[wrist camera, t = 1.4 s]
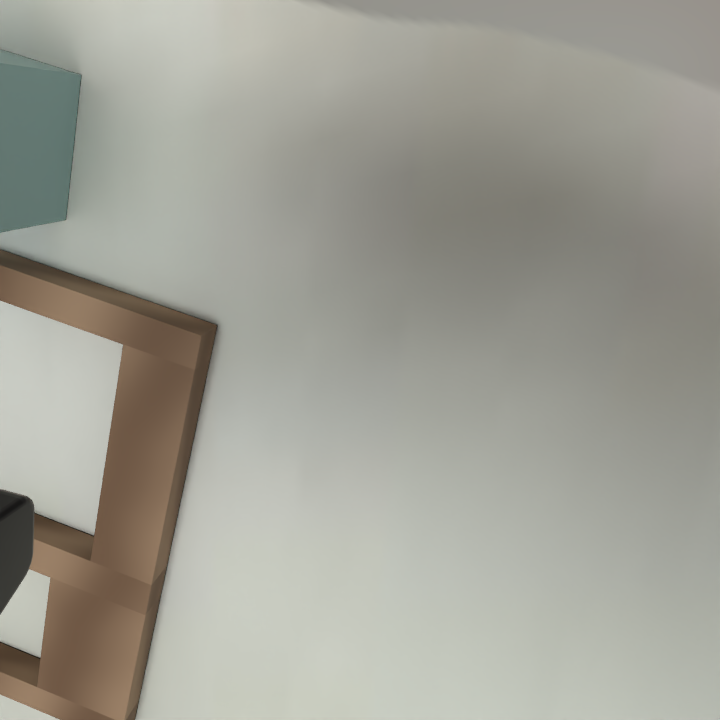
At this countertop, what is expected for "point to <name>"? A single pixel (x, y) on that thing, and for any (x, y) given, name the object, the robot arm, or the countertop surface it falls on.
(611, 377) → the countertop surface
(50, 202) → the teal tall rectangular block
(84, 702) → the socket board
